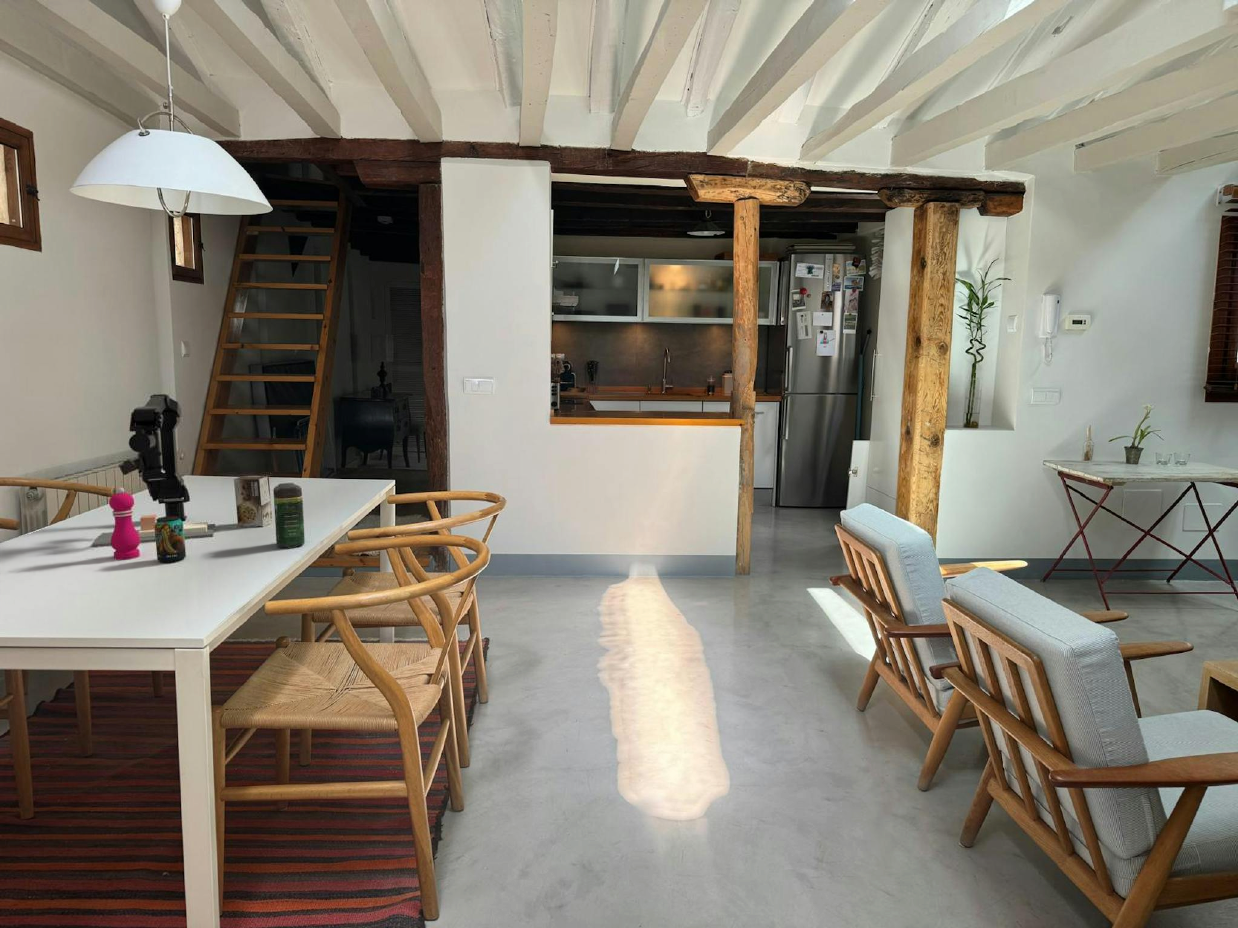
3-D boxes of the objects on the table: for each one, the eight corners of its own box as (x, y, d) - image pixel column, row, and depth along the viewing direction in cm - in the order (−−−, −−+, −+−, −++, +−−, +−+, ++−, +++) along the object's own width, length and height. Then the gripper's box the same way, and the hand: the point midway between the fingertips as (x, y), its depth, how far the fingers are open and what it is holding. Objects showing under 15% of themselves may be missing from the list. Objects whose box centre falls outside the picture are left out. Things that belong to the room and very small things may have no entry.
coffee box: (273, 522, 271) (270, 475, 269) (263, 527, 265) (259, 478, 262) (247, 522, 272) (244, 475, 269) (236, 526, 265) (233, 478, 263)
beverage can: (157, 564, 220) (153, 521, 218) (158, 558, 226) (154, 517, 224) (186, 561, 223) (182, 519, 221) (186, 555, 229) (182, 514, 227)
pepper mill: (147, 554, 230) (141, 486, 227) (125, 561, 223) (118, 490, 220) (128, 552, 232) (122, 484, 229) (105, 559, 226) (98, 489, 223)
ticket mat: (102, 535, 253) (101, 527, 253) (215, 526, 266) (215, 518, 266) (92, 547, 239) (91, 538, 238) (212, 536, 252) (212, 528, 251)
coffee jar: (306, 546, 239) (303, 485, 236) (278, 549, 235) (273, 487, 233) (303, 539, 247) (299, 480, 245) (275, 542, 244) (271, 482, 241)
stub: (142, 531, 254) (140, 514, 253) (164, 530, 257) (162, 512, 256) (138, 537, 247) (137, 519, 246) (161, 535, 249) (159, 517, 248)
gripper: (117, 447, 251) (121, 497, 253) (120, 453, 235) (125, 506, 238) (158, 445, 257) (162, 493, 259) (163, 451, 242) (168, 502, 244)
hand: (153, 498), depth 250 cm, fingers open, 9 cm apart
